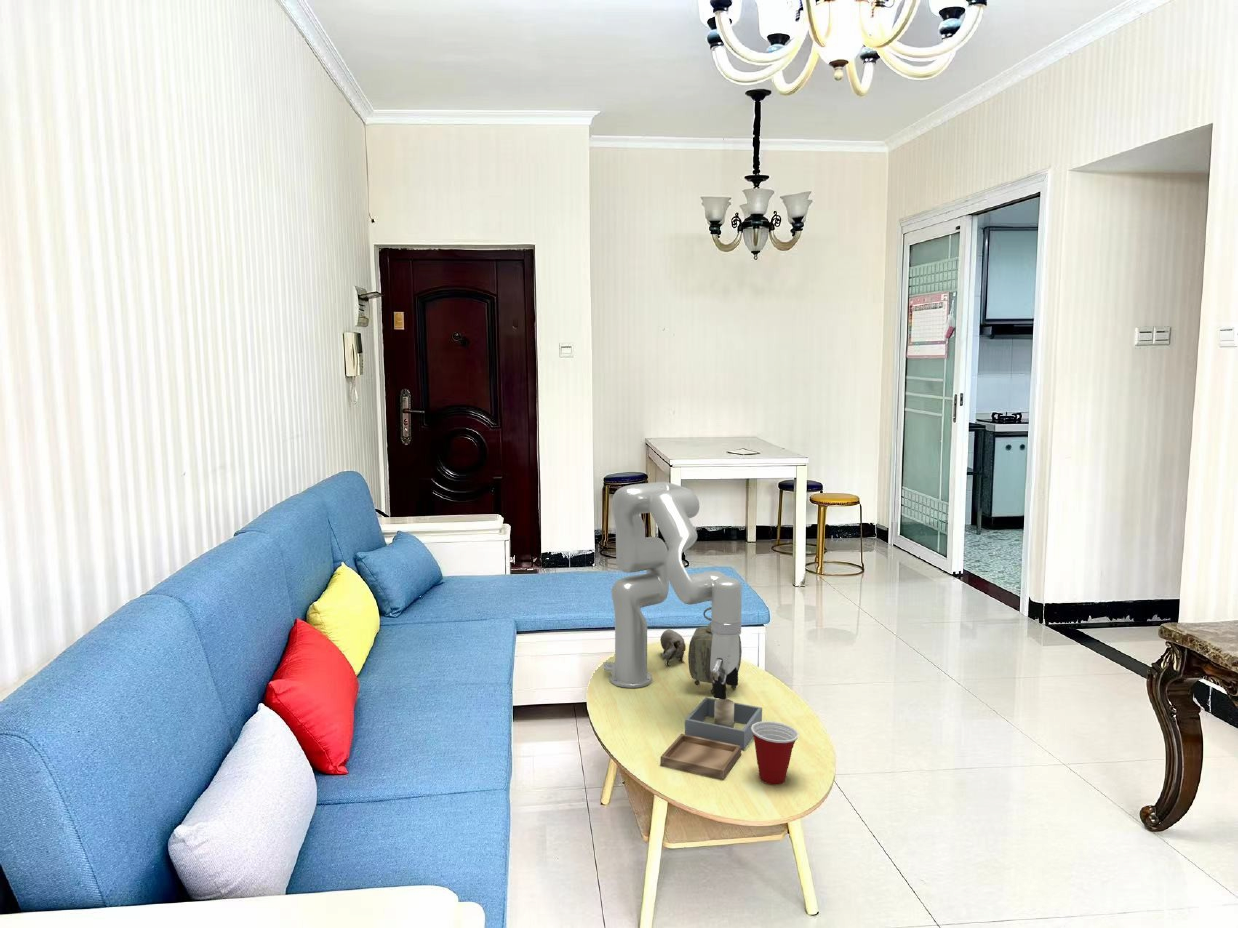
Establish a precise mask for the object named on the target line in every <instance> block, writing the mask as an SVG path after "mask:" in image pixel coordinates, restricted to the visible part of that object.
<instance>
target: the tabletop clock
mask: <svg viewBox="0 0 1238 928" xmlns="http://www.w3.org/2000/svg"><path fill="white" fill-rule="evenodd" d="M709 610H712V606H710V607H707V608H705V609H704V610H703V614H702V615H703V617H704V618H705V620H708V621H710V622H709V623H708V625H707V626H700V627H697V628H696V629H695V631H694V632H693V634H692V637H691V639H690V640H689V644H688V645H689V646H688V655H687V659H688V660H687V661H688V662H687V663H688V670H689V674H690V677H691V679H693V680H694V685H695V686H700V684H701V682H702V683H708V684H712V685H711V688H710V690H709V691H710V694H711V695H713V673H712V672H711V671H710V661H711V646H712V638H713V633H712V632H711V619H712V618H711V617H708V616H706V612H708V611H709ZM741 661H742V641H741V634H740V635H739V663H738V670H736V671H738V672H739V671H740V668H741V663H742V662H741ZM720 671H724V670H720ZM719 676H721V678H722V677H723V675H719ZM725 684H726V680H725ZM726 685H727V684H726ZM730 688H731V689H732V690H736V688H737V686H732V685H730Z"/></svg>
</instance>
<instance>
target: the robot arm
mask: <svg viewBox="0 0 1238 928" xmlns="http://www.w3.org/2000/svg"><path fill="white" fill-rule="evenodd" d="M611 509H612V515H613V520H614V523H615V552H616V554H615V556H616V557H615V558H616V564H617V565H616V566H617V568H618V569H619V571H620V572H623V573H629V574H630V573H636V572H637V573H638V572H642V571H643V572H644V571H646V573H642V574H636V575H630V576H625V577H622V578H620V579H618V580H616V581H615V582H614V583H613V585H612V588H611V597H612V604H613V610H614V611H613V613H614V662H611V661H604V662H603V671H604V672H605V671H606V672H611V674H609V681H610V683H611V684H613V685H614V686H616V687H620V688H627V689H635V688H643V687H646V686H648V685H650V684H651V683H652V681H653V676H652V674H651V673H650V672H649V671H648V622H647V619H646V617H645V615H644V613H643V612H642V610H641V609H642V608H645V607H650V606H654V605H659V604H662V603H664V602H665V601H666V600H667V598H668V595H669V590H670V586H671V587H672V589H673V591H674V593H675V595H676V596H677V598H678V600H679V601H681V602H682V603H683V604H686V605H697V604H701V603H706V602H711V607H712V609H711V614H710V615H711V616H710V618H711V621H710V623H711V632H712V633H713V638H712V646H711V661H710V671H711V672H712V673H713V694H712V695H713V699H724V700H725V699H727V686H731V685H732V686H736V687H738V685H739V671H736V670H738V663H739V635H740V636H741V634H742V592H743V591H742V583H741V580H739V579H737V578H734V577H729V576H727V575H726V574H725V573H723V572H721V571H718V570H709V571H704V572H699V573H698V572H697V573H693V574H692V573H691V574H689V573H688V571H687V569H686V567H685V566H684V562H683V560H682V555H683V553H684V552H685V551H686V550H688V549H690V548H691V547H692V546H693V545H694V544H695V543H696V542H697V539H698V532H697V531H696V529H695V527H694V525H693V523H692V522H691V520H690V519H692V518H694V517H696V516H698V514H699V512H700V501H699V498H698V496H697V495H696V493H695V492H694V491H693V490H691V489H690V488H688V487H684V486H681V485H678V484H675V483H671V482H668V481H656V482H647V483H646V482H645V483H644V482H643V483H635V484H630V485H625V486H622V487H620V488H618V489H617V490H616V491H615V492H614V494H613V496H612V501H611ZM649 513H650V514H651V516H652V518H653V520H654V522H655V524H656V526H657V527H658V529H659V531H660V534H661V536H662V537H663V539H664V540H663V539H662V538H659V537H658V536H648V537H647V536H646V526H645V522H644V521H643V519H642V517H641V515H640V514H649ZM664 541H665V542H664ZM665 543H666V544H665ZM667 547H668V548H667ZM720 670H724V671H720ZM719 675H723V677H722V678H721V676H719ZM725 680H726V684H725Z"/></svg>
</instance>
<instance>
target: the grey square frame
mask: <svg viewBox="0 0 1238 928" xmlns="http://www.w3.org/2000/svg"><path fill="white" fill-rule="evenodd" d="M717 699H718V698H714V697H713V698H712V697H704V699H702V701H701V702H700V703H699V704H698V705H697V706H695V708H694V709H693V710H692V711H691V713H690V714H689V715H688V716H687V717H686V718H685V719H684V734H686V735H690V736H695V737H700V738H705V739H710V740H714V741H719V742H724V743H729V744H734V745H739V746H741V752H742V751H743V752H744V751H745V750H747V747H749V745H750V743H751V742H752V740H754V737H753V732H752V730H751V727H752V725H753V724H755V723H757V722H762V721H763V707H760V706H755V705H749V704H744V703H739V702H734V723H740V724H743V725H744V727H743V728H742V729H741V728H736V727H734V728H731V727H726V726H721V725H716V724H714V723H711V722H706V721H705V720H706V719H707V718H708V717H709V718H712V719H713V718H714V711H715V701H716V700H717Z"/></svg>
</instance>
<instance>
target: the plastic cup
mask: <svg viewBox="0 0 1238 928" xmlns="http://www.w3.org/2000/svg"><path fill="white" fill-rule="evenodd" d="M751 730H752V732H753V741H754V749H755V756H756V762H757V768H758V774H759V778H760V781H762V782H763V783H765V784H768V785H773V786H775V785H781V784H783V783H785V782H786V779H787V774H788V769H789V766H790V762H791V757H792V751H793V748H794V745H795V743H796V741H797V739H798V738H799V735H800V733H799V732H798V730H797V729H795V728H794V727H793V726H790V725H788V724H785V723H783V722H779V721H772V720H769V721H768V720H762V722H757V723H755V724H753V725H752V727H751Z"/></svg>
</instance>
